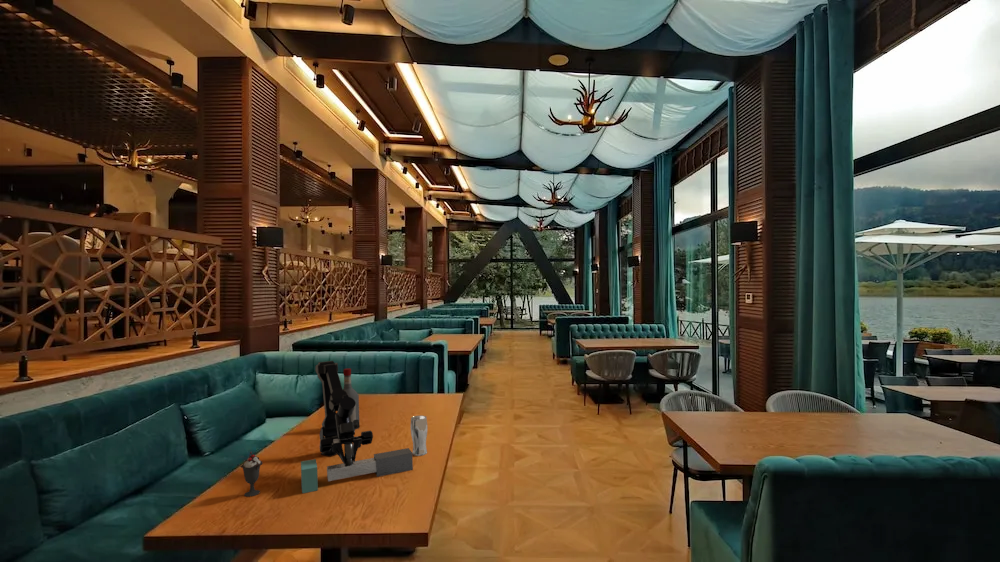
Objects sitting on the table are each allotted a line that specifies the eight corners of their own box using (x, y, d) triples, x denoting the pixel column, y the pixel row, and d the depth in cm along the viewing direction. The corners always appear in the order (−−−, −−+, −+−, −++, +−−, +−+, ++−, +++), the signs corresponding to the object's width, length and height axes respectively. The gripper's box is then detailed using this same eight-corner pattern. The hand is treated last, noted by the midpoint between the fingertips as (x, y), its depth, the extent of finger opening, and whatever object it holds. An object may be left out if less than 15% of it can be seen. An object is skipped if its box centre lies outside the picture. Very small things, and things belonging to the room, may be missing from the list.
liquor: (354, 431, 229) (353, 370, 230) (336, 431, 229) (334, 370, 230) (360, 425, 238) (359, 367, 239) (343, 426, 238) (341, 367, 239)
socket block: (316, 480, 169) (315, 458, 169) (317, 490, 161) (317, 467, 161) (301, 483, 167) (300, 461, 167) (302, 493, 159) (301, 470, 159)
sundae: (248, 499, 155) (247, 454, 156) (237, 495, 159) (236, 451, 159) (267, 491, 161) (266, 448, 161) (256, 488, 164) (255, 445, 165)
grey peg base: (396, 464, 179) (395, 434, 179) (398, 467, 175) (397, 437, 175) (327, 477, 168) (326, 445, 168) (328, 481, 165) (327, 448, 165)
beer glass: (424, 456, 190) (423, 420, 190) (408, 456, 191) (407, 419, 192) (430, 450, 197) (429, 415, 197) (415, 450, 198) (414, 415, 199)
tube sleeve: (409, 464, 182) (408, 448, 182) (412, 469, 176) (412, 452, 177) (374, 471, 176) (373, 454, 176) (377, 476, 171) (376, 459, 171)
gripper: (319, 416, 169) (323, 456, 159) (371, 409, 178) (378, 446, 168) (318, 432, 176) (321, 471, 166) (368, 424, 185) (374, 461, 174)
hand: (349, 462), depth 168 cm, fingers closed on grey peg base, 3 cm apart
